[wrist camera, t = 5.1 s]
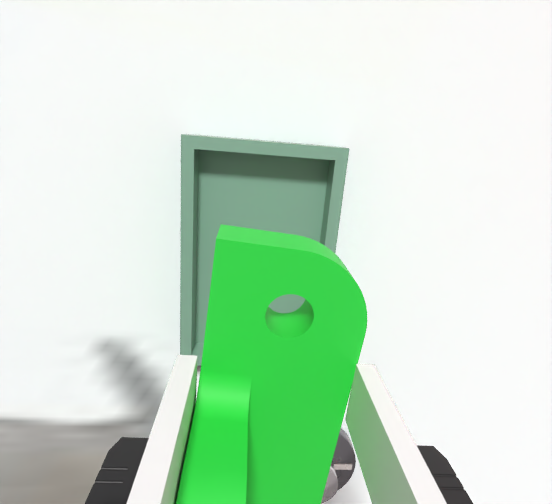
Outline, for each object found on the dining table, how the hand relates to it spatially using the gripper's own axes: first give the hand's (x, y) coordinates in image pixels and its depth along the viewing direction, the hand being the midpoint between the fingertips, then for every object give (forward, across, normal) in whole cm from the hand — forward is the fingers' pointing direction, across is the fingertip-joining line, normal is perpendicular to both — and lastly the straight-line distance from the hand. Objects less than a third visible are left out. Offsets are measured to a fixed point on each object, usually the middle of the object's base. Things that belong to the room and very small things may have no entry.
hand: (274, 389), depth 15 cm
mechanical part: (+2, 0, 0) cm, 2 cm away
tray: (+15, -1, +1) cm, 15 cm away
